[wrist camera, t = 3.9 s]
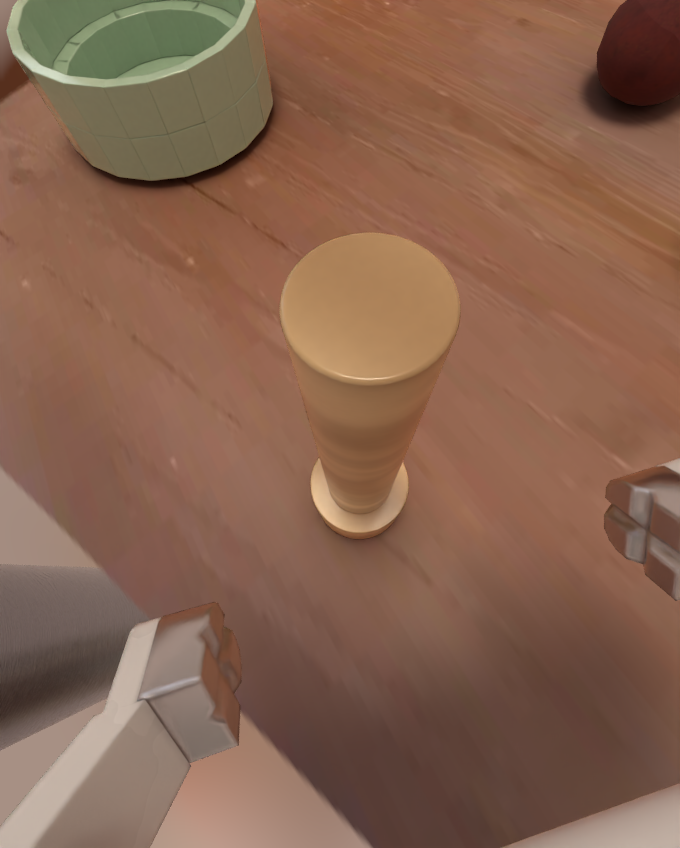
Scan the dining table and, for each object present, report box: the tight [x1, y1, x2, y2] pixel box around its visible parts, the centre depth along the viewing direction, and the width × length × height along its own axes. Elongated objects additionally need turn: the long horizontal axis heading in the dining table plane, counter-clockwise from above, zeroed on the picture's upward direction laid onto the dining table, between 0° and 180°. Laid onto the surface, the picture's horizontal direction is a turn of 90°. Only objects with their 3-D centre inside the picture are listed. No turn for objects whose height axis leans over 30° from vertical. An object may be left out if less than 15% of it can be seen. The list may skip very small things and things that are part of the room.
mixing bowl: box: [7, 0, 273, 181], centre depth 29 cm, size 15×15×6 cm
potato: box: [597, 0, 680, 106], centre depth 28 cm, size 7×8×6 cm
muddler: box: [279, 232, 461, 539], centre depth 14 cm, size 4×4×16 cm
